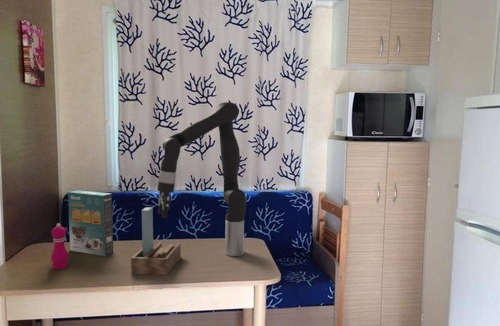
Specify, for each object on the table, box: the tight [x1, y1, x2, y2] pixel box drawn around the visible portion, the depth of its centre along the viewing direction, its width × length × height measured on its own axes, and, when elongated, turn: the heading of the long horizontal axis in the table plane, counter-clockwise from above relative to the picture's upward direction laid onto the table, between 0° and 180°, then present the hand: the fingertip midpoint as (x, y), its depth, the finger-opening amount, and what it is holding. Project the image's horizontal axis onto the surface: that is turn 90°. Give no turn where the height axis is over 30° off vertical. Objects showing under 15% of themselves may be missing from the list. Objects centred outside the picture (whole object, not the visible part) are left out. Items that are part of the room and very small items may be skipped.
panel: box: [141, 206, 154, 257], centre depth 187 cm, size 3×6×26 cm, turn 175°
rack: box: [130, 241, 182, 276], centre depth 187 cm, size 16×23×7 cm
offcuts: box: [152, 243, 175, 258], centre depth 187 cm, size 7×13×8 cm, turn 175°
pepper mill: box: [50, 222, 69, 270], centre depth 182 cm, size 7×7×20 cm
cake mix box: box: [67, 189, 114, 257], centre depth 203 cm, size 22×6×30 cm, turn 69°
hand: (162, 216), depth 187 cm, fingers open, 8 cm apart
